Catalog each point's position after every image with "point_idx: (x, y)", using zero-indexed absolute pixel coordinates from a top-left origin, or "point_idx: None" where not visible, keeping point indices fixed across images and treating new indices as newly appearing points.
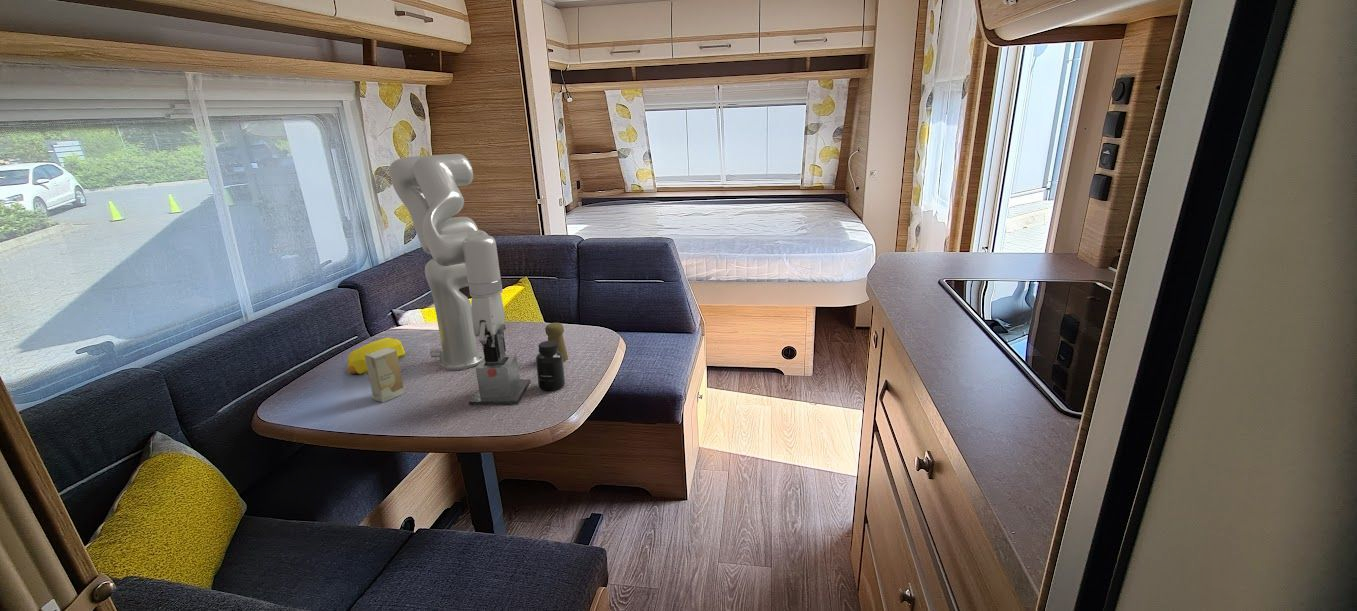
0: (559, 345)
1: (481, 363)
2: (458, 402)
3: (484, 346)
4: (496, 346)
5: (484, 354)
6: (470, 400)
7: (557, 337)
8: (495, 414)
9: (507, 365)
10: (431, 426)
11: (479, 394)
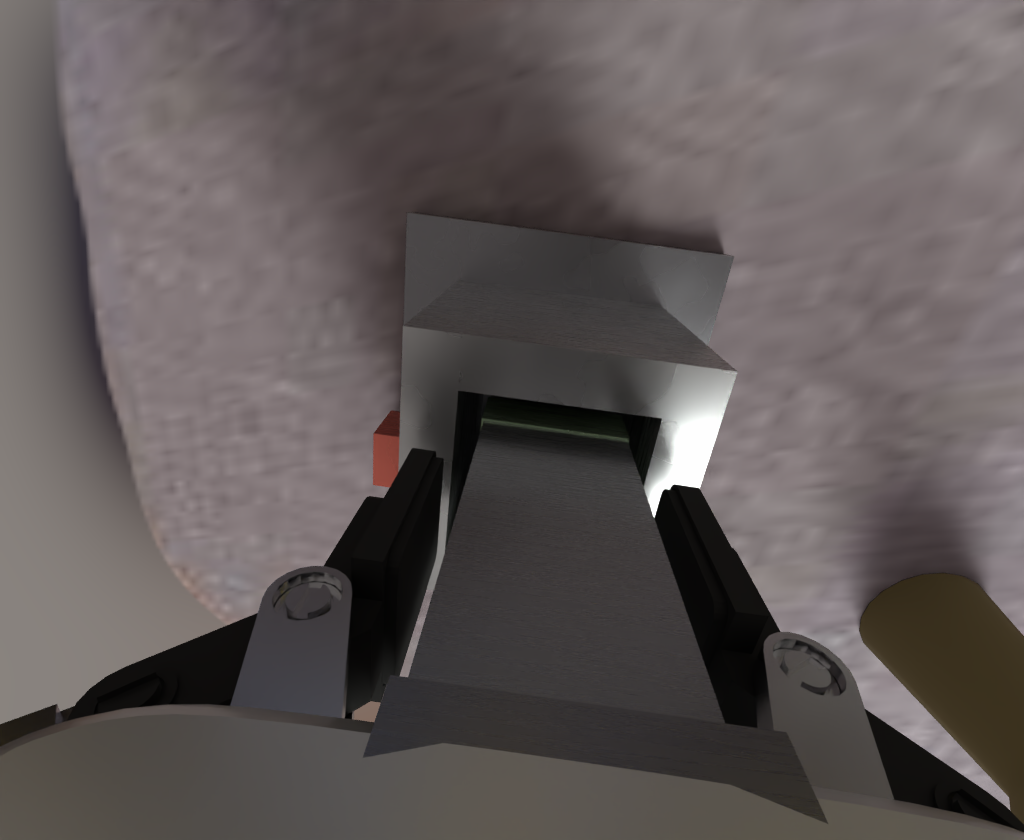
0: (948, 731)
1: (520, 361)
2: (466, 114)
3: (246, 626)
4: (375, 698)
5: (388, 495)
6: (423, 219)
7: (1004, 787)
8: (302, 389)
9: (435, 582)
10: (138, 8)
11: (505, 263)
